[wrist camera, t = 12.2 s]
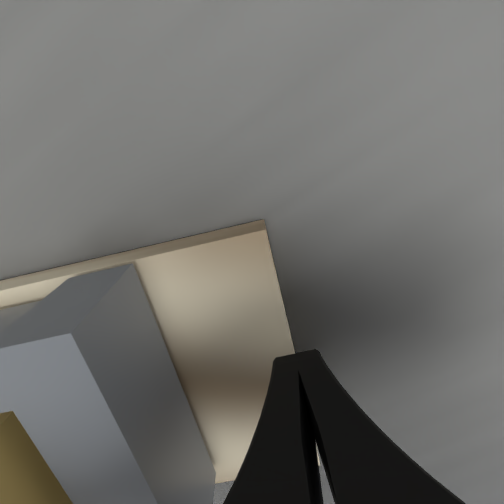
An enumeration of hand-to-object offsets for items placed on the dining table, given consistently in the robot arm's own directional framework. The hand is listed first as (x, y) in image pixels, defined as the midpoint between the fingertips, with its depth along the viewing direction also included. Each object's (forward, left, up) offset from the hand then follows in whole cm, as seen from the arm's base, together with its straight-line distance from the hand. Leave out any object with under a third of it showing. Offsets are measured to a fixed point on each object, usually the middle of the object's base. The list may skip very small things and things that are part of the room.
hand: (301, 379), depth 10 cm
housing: (0, +7, -1) cm, 7 cm away
